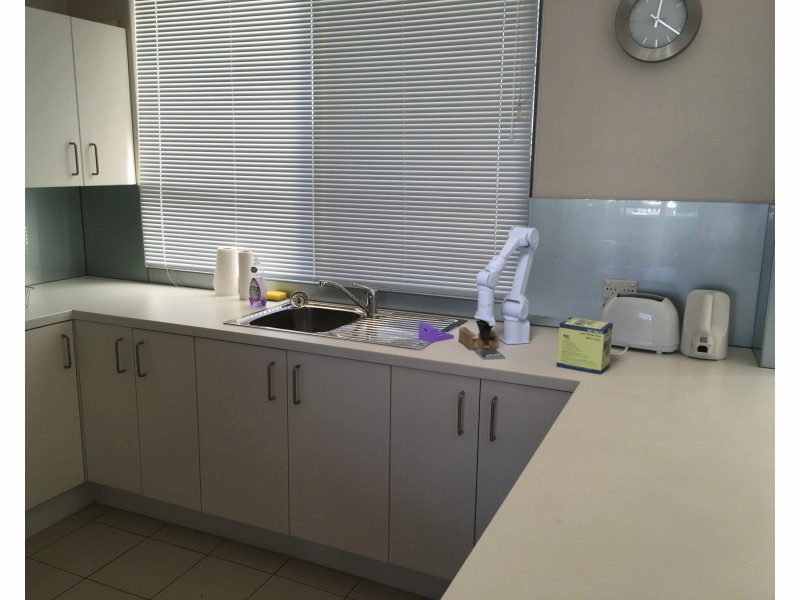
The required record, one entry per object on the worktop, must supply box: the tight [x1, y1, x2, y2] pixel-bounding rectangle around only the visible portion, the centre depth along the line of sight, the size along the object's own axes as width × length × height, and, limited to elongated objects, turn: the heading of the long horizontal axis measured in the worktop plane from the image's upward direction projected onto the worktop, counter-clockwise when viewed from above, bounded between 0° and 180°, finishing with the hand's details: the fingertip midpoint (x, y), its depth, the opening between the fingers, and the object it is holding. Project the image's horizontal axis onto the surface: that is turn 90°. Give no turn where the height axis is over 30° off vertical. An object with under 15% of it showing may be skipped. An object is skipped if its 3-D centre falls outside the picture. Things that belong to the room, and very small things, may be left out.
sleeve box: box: [458, 326, 499, 351], centre depth 254 cm, size 11×12×6 cm
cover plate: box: [472, 347, 506, 361], centre depth 243 cm, size 8×12×2 cm, turn 11°
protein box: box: [555, 317, 614, 376], centre depth 229 cm, size 10×16×16 cm
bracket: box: [418, 321, 455, 344], centre depth 262 cm, size 12×7×7 cm, turn 126°
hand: (484, 340), depth 248 cm, fingers closed
